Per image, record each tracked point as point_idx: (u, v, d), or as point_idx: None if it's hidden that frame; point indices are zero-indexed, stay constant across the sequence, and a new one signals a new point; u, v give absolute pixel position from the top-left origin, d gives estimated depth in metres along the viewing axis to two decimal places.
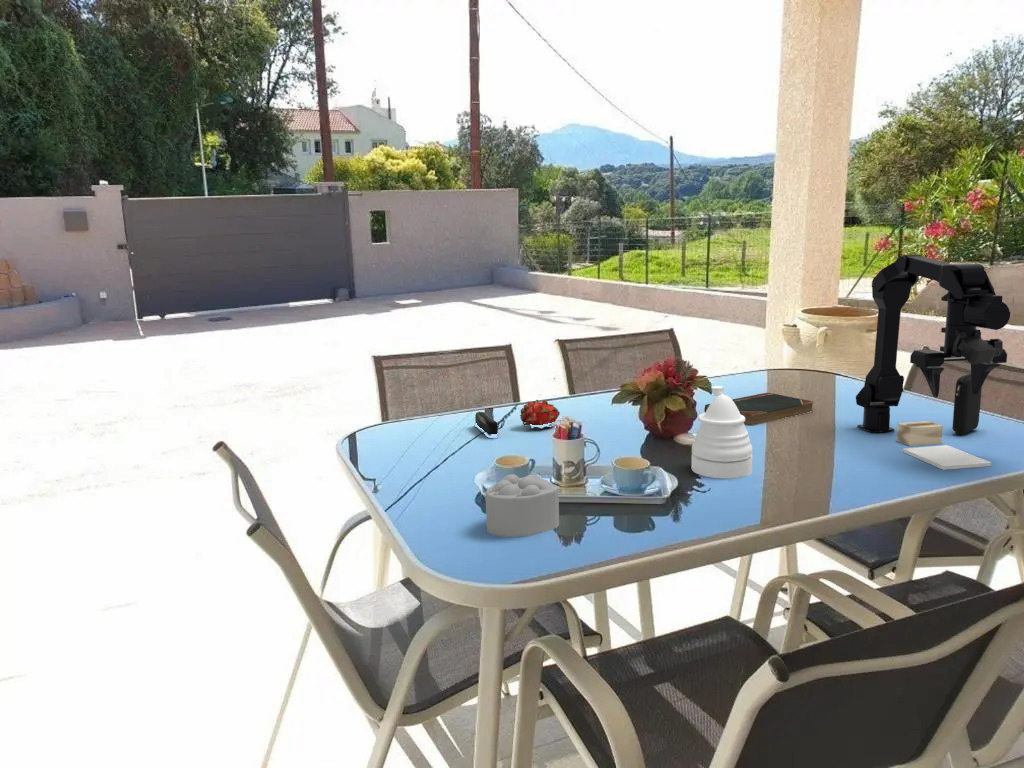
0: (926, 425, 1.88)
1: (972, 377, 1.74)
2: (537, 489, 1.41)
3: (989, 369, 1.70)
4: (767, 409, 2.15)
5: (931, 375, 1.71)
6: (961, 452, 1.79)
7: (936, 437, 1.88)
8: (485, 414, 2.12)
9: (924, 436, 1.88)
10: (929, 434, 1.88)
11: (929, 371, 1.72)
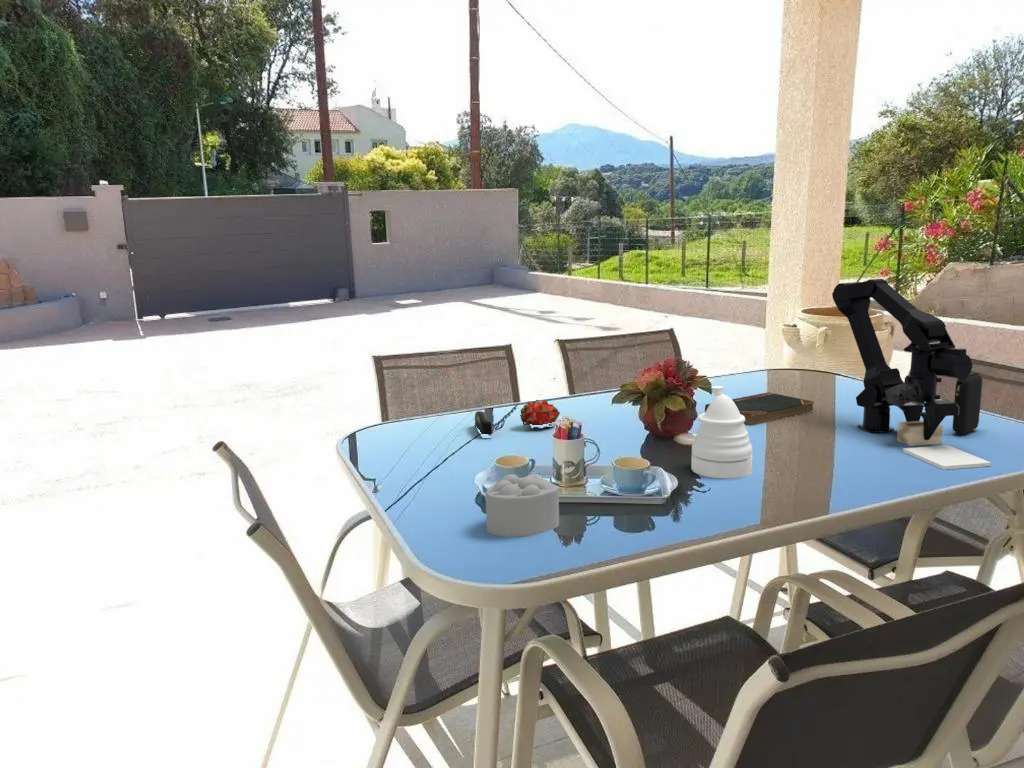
0: None
1: None
2: (537, 489, 1.41)
3: (923, 417, 1.85)
4: (767, 409, 2.15)
5: None
6: (961, 452, 1.79)
7: (936, 436, 1.88)
8: (483, 414, 2.12)
9: None
10: None
11: None
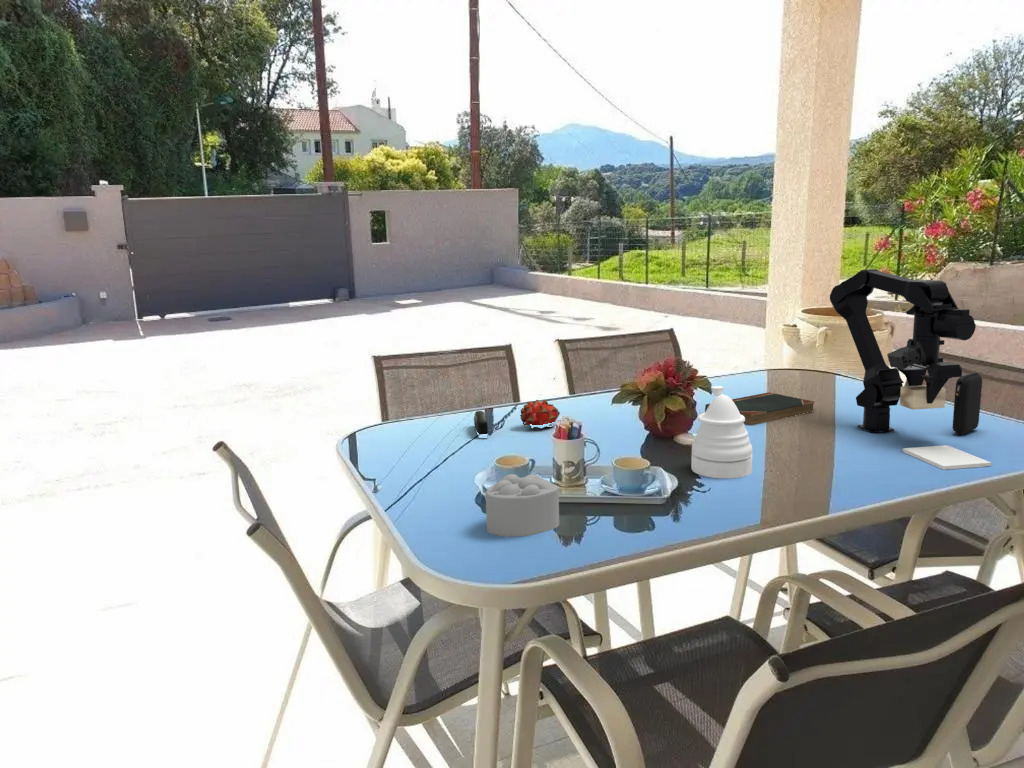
0: None
1: None
2: (537, 489, 1.41)
3: (925, 379, 1.83)
4: (767, 409, 2.15)
5: None
6: (961, 452, 1.79)
7: (939, 400, 1.86)
8: (481, 413, 2.13)
9: None
10: None
11: None
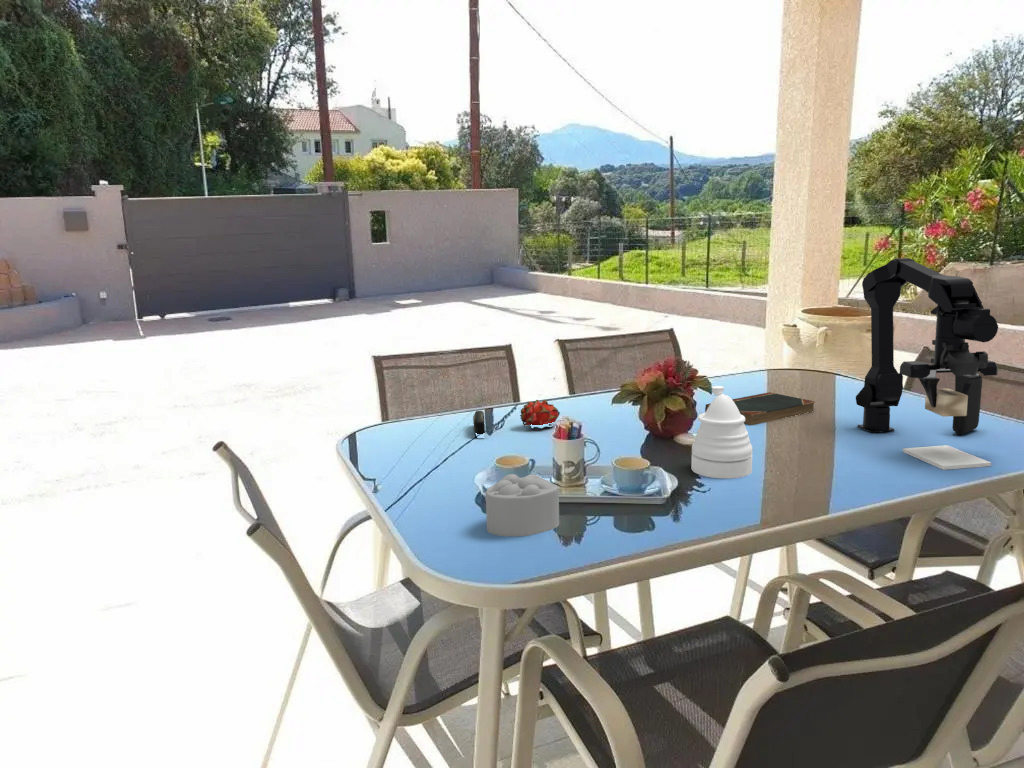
0: (950, 391, 1.77)
1: (956, 389, 1.77)
2: (537, 489, 1.41)
3: (970, 381, 1.73)
4: (767, 409, 2.15)
5: (929, 386, 1.76)
6: (961, 452, 1.79)
7: None
8: (480, 413, 2.13)
9: None
10: None
11: (927, 382, 1.76)
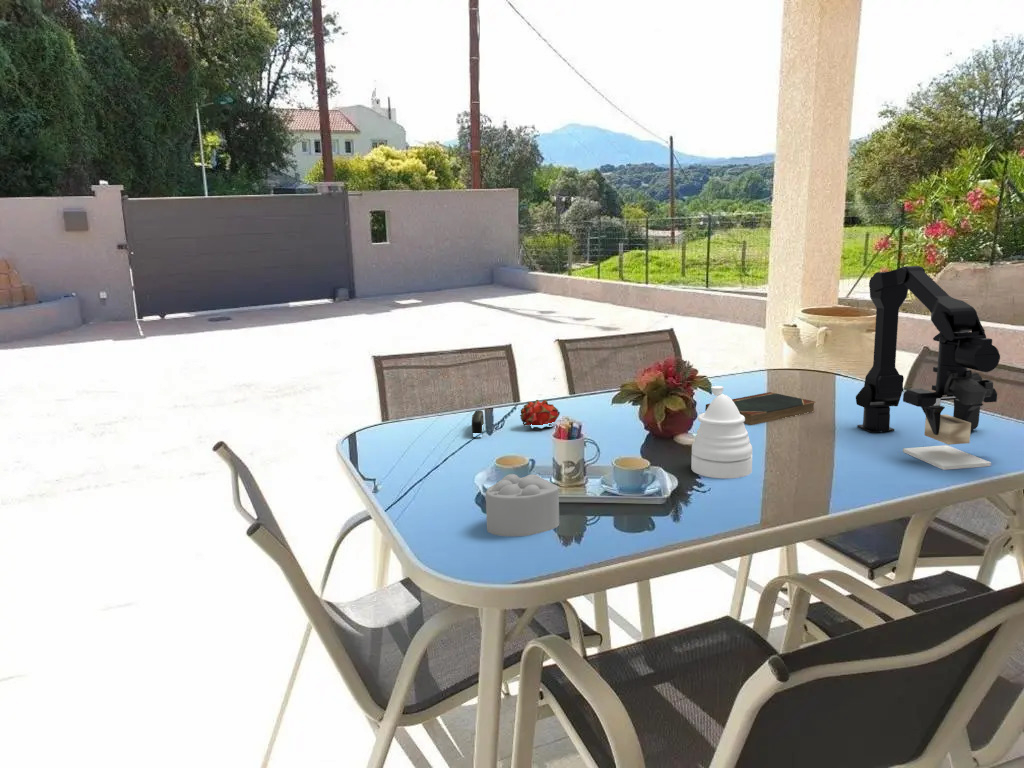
0: (950, 418, 1.76)
1: (955, 415, 1.77)
2: (537, 489, 1.41)
3: (971, 408, 1.73)
4: (767, 409, 2.15)
5: (931, 413, 1.75)
6: (961, 452, 1.79)
7: None
8: (479, 413, 2.13)
9: None
10: None
11: (929, 409, 1.75)
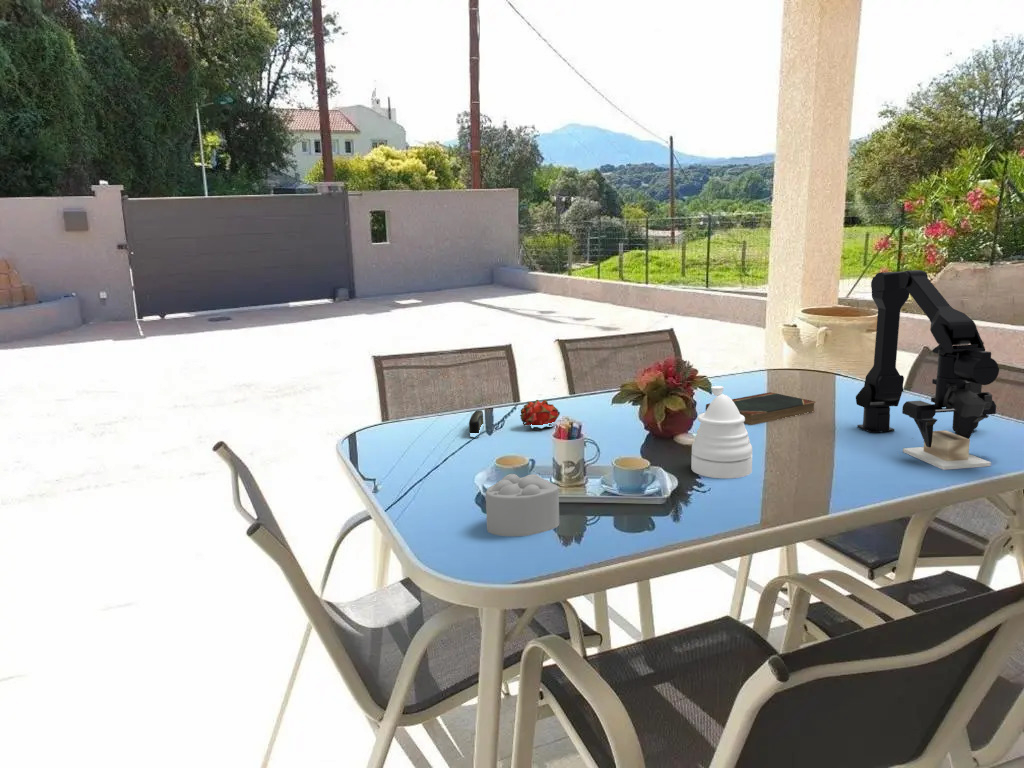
0: (949, 434, 1.77)
1: (961, 427, 1.78)
2: (537, 489, 1.41)
3: (977, 420, 1.74)
4: (767, 409, 2.15)
5: (924, 426, 1.75)
6: None
7: None
8: (478, 413, 2.13)
9: None
10: None
11: (922, 422, 1.75)
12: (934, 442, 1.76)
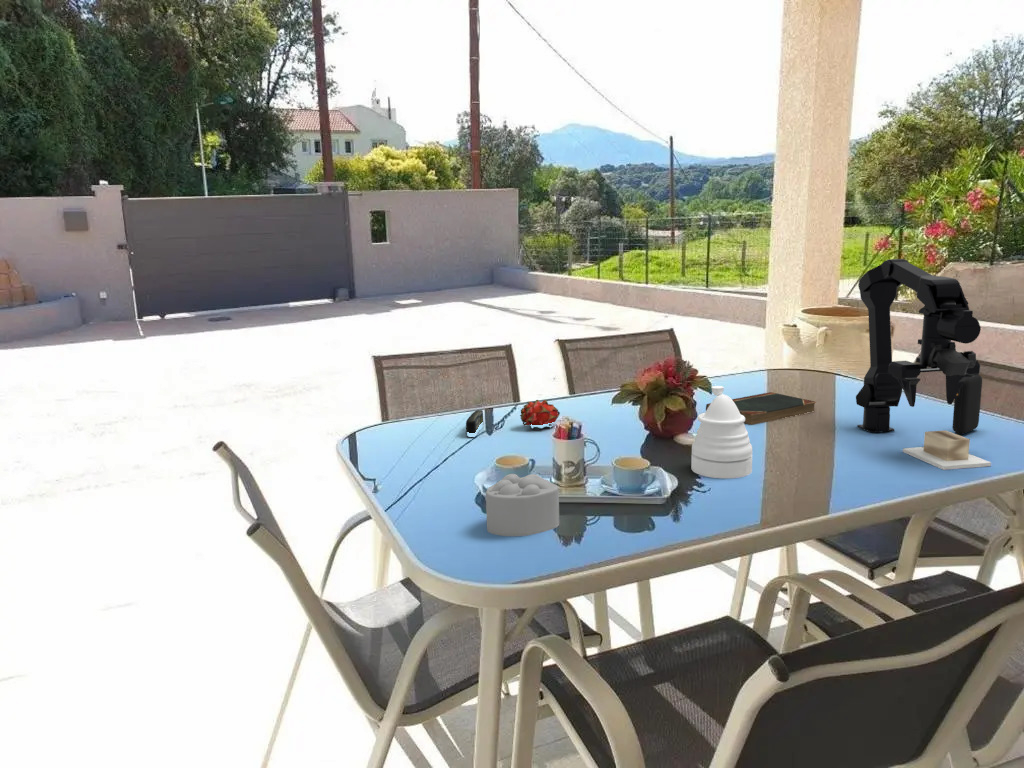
0: (949, 434, 1.77)
1: (947, 387, 1.80)
2: (537, 489, 1.41)
3: (962, 379, 1.76)
4: (768, 409, 2.15)
5: (908, 385, 1.77)
6: None
7: None
8: (477, 413, 2.14)
9: None
10: None
11: (906, 381, 1.78)
12: (934, 442, 1.76)
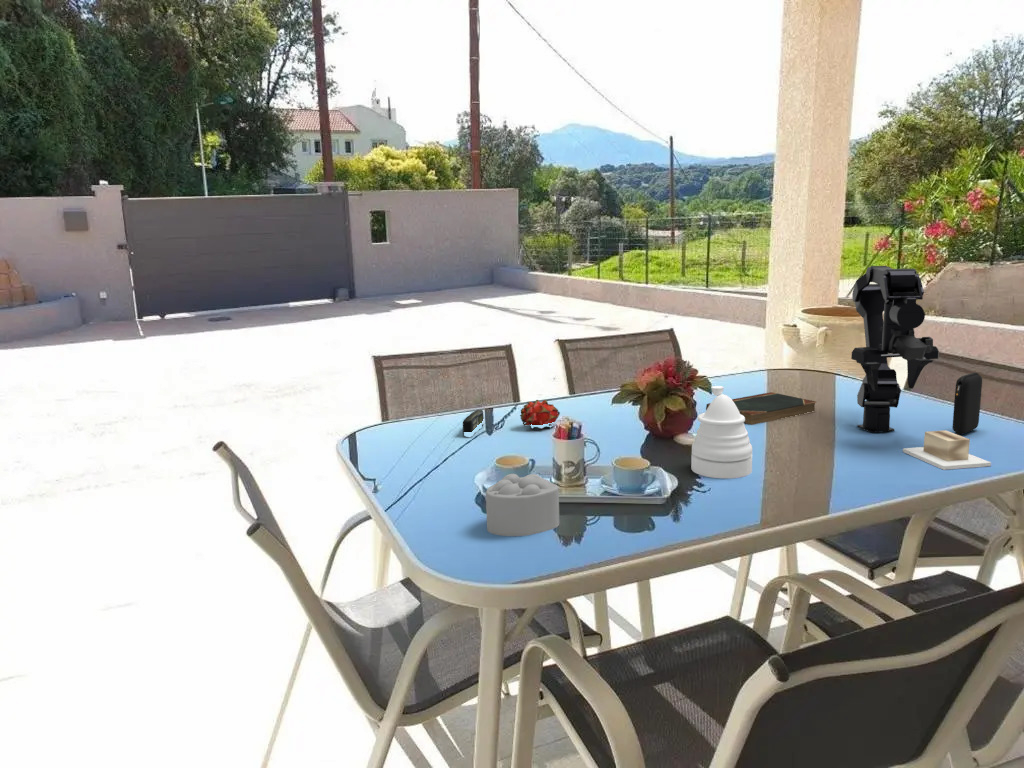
0: (949, 434, 1.77)
1: (908, 372, 1.89)
2: (537, 488, 1.41)
3: (922, 364, 1.85)
4: (768, 409, 2.15)
5: (870, 370, 1.86)
6: None
7: None
8: (475, 412, 2.14)
9: None
10: None
11: (868, 367, 1.87)
12: (934, 442, 1.76)
